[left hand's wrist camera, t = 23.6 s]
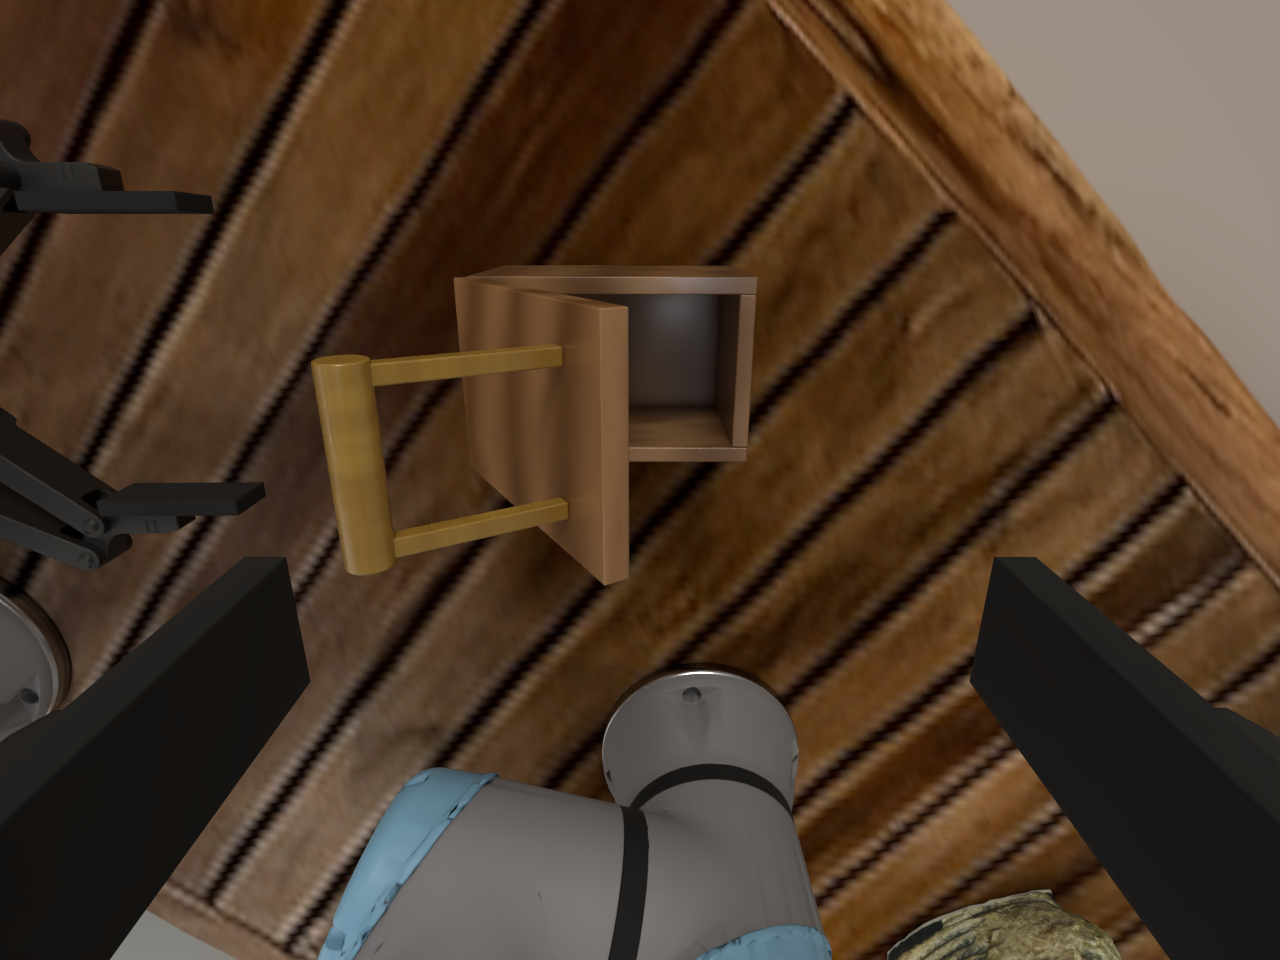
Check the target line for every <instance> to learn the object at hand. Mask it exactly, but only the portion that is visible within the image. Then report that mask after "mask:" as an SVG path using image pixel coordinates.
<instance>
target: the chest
mask: <svg viewBox="0 0 1280 960" xmlns="http://www.w3.org/2000/svg"><path fill="white" fill-rule="evenodd" d="M467 277H476V278H481V279H487V280H492V281H497V282H502V283H507V284H513V285H518V286H523V287H528V288H534V289H539V290H544V291H549V292H554V293H560V294H565V295H570V296H575V297H580V298H586V299H591V300H596V301H601V302H607V303H612V304H617V305H622V306H627V307H628V348H629V462H746V461H747V445H748V428H749V412H750V395H751V378H752V361H753V345H754V328H755V311H756V294H757V280H758V278H757V277H755V276H753V275H751V274H748V273H746V272H744V271H742V270H739V269H737V268H735V267H732V266H615V265H504V266H500V267H497V268H494V269H490V270H487V271H484V272H480V273H477V274H474V275H470V276H467Z"/></svg>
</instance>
